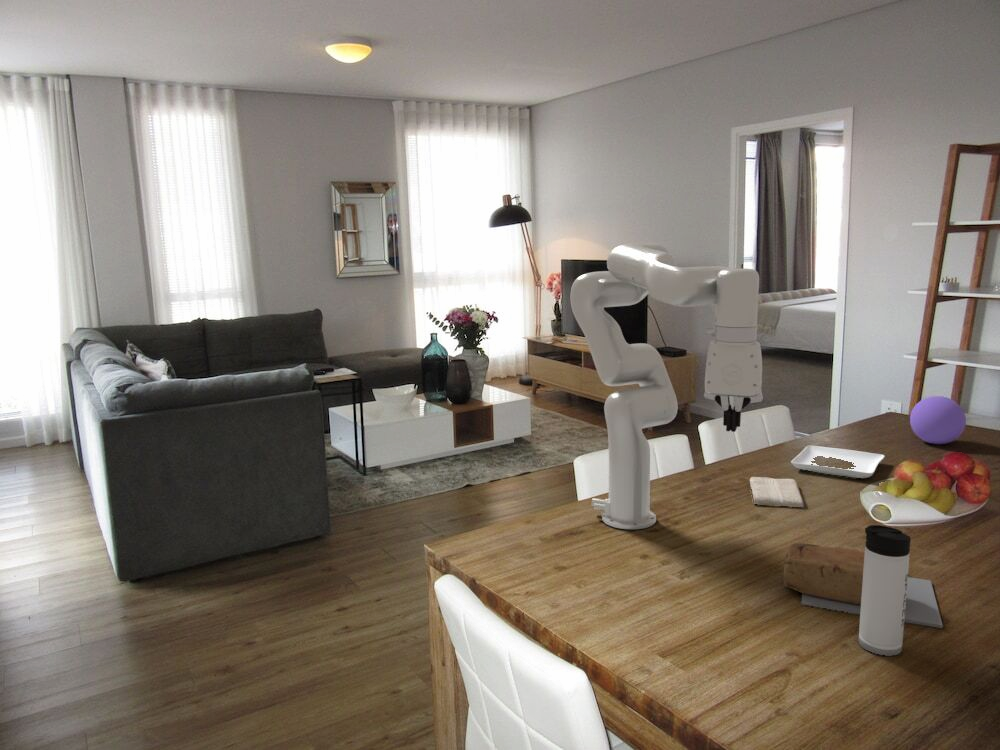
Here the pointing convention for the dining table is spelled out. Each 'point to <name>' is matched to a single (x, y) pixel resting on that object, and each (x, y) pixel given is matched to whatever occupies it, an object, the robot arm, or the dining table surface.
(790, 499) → the washcloth
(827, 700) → the dining table surface
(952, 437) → the decorative ball
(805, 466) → the salad plate
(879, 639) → the travel mug
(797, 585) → the block
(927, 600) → the mat
